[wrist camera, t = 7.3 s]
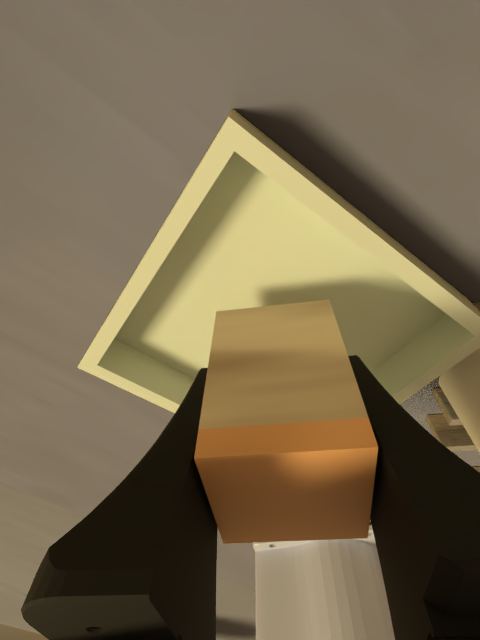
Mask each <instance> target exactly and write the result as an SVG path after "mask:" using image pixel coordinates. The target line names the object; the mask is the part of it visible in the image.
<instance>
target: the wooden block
mask: <svg viewBox="0 0 480 640" xmlns="http://www.w3.org/2000/svg"><path fill="white" fill-rule="evenodd" d="M377 454H378V445H377V442H376V439H375V436H374V433H373V430H372V427H371V424H370V421H369V418H368V415H367V412H366V409H365V405H364V402H363V399H362V396H361V393H360V390H359V387H358V384H357V381H356V378H355V375H354V372H353V369H352V366H351V363H350V360H349V357H348V354H347V351H346V348H345V345H344V342H343V339H342V336H341V333H340V330H339V327H338V324H337V321H336V318H335V315H334V312H333V309H332V306H331V303H330V300H322V301H312V302H302V303H293V304H283V305H273V306H263V307H254V308H244V309H234V310H224V311H216V317H215V323H214V330H213V337H212V343H211V350H210V356H209V363H208V370H207V376H206V383H205V389H204V396H203V403H202V409H201V416H200V422H199V429H198V436H197V442H196V449H195V455H194V460H195V463H196V465H197V468H198V471H199V474H200V477H201V480H202V483H203V486H204V488H205V491H206V494H207V497H208V500H209V503H210V506H211V509H212V512H213V514H214V517H215V520H216V523H217V526H218V529H219V532H220V535H221V537H222V540H223V543H250V542H278V541H306V540H334V539H362V538H368V532H369V523H370V514H371V506H372V497H373V489H374V480H375V472H376V463H377Z"/></svg>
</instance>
